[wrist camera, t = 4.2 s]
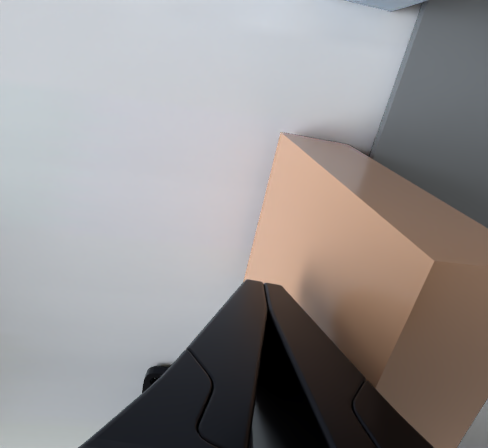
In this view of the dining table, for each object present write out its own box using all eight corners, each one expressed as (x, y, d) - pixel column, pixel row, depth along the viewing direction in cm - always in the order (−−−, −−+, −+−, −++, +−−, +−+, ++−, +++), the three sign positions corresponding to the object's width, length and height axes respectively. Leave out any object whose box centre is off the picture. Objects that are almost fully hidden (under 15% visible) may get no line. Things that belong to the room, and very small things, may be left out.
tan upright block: (303, 293, 16) (422, 511, 8) (241, 288, 15) (313, 520, 8) (352, 145, 13) (572, 275, 6) (280, 132, 13) (434, 261, 5)
